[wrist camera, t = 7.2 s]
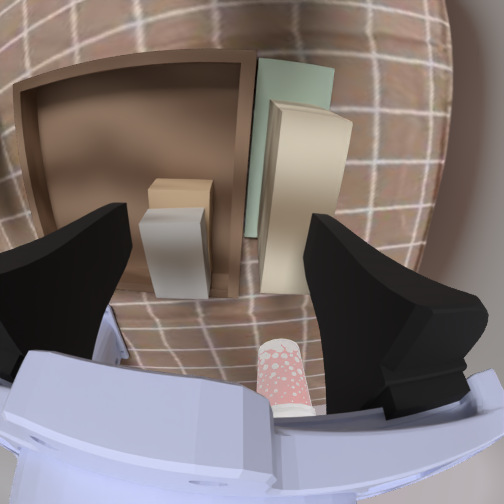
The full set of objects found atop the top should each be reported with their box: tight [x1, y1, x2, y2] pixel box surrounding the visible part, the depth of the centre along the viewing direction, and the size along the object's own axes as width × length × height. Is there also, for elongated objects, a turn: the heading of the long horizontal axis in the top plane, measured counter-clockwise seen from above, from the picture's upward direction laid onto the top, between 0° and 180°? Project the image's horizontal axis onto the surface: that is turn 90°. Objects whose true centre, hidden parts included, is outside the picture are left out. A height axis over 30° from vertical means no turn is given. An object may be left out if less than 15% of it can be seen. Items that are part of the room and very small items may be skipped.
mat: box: [244, 58, 335, 237], centre depth 19 cm, size 13×5×1 cm, turn 176°
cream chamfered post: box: [257, 99, 353, 295], centre depth 16 cm, size 10×3×7 cm, turn 176°
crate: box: [13, 49, 257, 299], centre depth 18 cm, size 18×17×3 cm
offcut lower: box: [148, 179, 213, 275], centre depth 20 cm, size 8×4×2 cm, turn 175°
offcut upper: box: [139, 207, 211, 299], centre depth 19 cm, size 6×4×2 cm, turn 179°
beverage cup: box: [257, 339, 316, 418], centre depth 25 cm, size 6×6×14 cm
